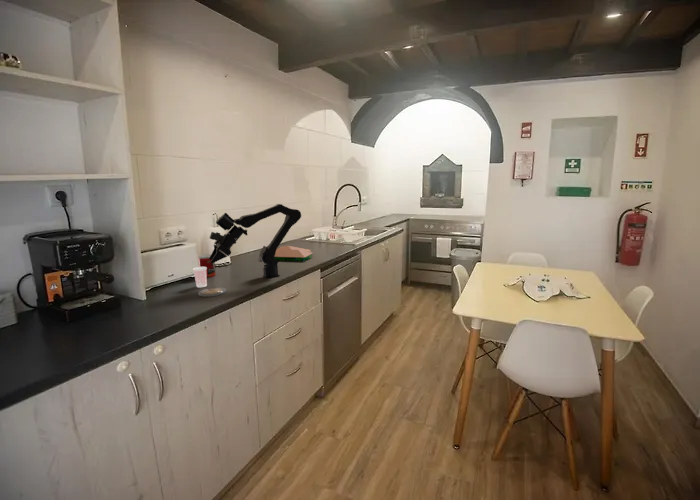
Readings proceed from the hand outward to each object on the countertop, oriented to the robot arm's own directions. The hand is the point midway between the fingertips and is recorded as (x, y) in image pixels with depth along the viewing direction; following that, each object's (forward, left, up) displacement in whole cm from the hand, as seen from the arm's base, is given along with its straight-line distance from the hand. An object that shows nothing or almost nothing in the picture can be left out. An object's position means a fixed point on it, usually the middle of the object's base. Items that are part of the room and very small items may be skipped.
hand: (210, 261), depth 172 cm
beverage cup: (+5, -1, -12) cm, 13 cm away
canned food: (-4, -19, -12) cm, 23 cm away
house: (-59, -30, -12) cm, 68 cm away
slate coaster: (+5, +14, -12) cm, 19 cm away
